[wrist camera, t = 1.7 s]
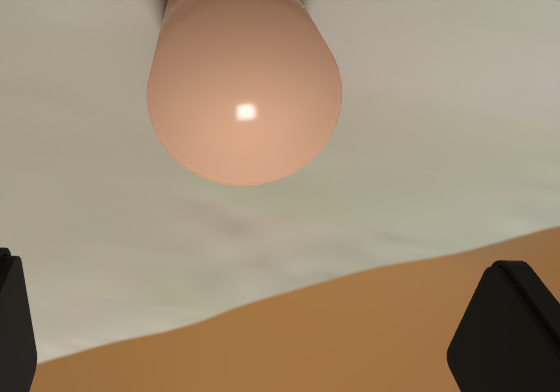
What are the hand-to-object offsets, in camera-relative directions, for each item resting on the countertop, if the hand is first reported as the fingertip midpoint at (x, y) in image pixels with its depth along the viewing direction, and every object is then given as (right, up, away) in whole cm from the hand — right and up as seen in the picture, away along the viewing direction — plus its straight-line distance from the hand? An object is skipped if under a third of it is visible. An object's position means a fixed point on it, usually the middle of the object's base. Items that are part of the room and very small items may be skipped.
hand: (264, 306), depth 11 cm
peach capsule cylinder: (-2, +11, +16) cm, 19 cm away
